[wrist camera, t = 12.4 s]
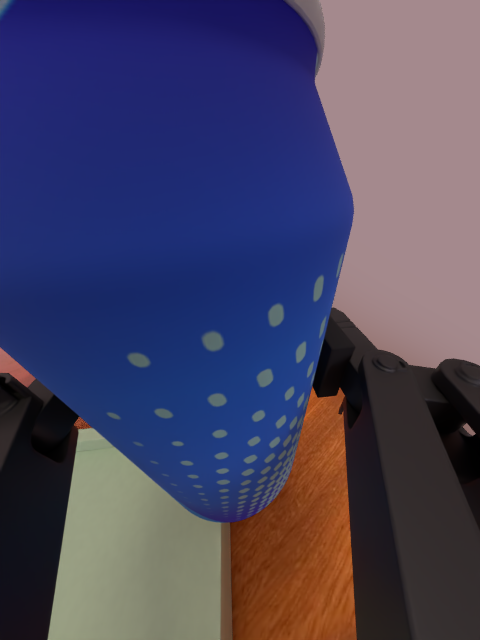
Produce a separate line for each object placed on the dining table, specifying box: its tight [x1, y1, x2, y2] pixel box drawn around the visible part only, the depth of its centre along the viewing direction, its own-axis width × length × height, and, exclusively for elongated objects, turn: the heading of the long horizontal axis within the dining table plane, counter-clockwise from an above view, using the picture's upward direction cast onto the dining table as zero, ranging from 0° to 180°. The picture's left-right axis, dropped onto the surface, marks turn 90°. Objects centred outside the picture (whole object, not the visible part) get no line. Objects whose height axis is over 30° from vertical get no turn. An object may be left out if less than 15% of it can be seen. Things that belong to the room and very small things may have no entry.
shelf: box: [48, 428, 233, 640], centre depth 15 cm, size 16×22×10 cm
